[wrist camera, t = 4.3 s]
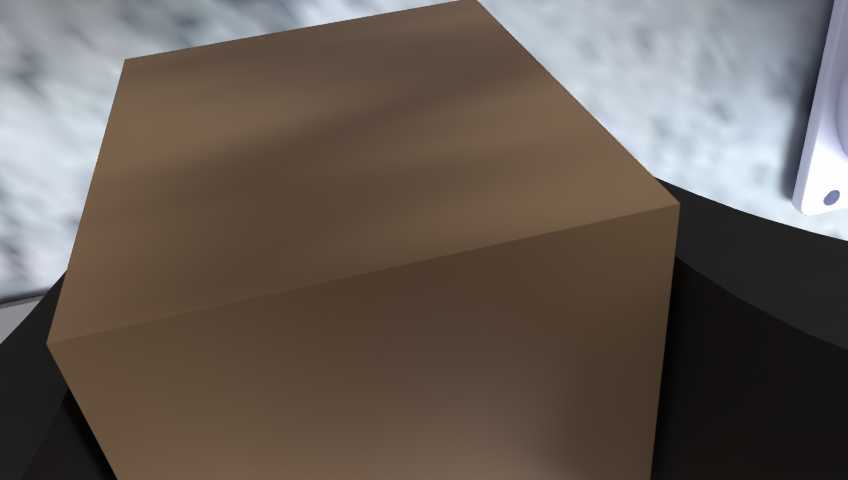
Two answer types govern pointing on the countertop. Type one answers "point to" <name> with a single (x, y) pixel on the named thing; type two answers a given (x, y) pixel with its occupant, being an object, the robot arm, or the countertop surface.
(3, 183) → the countertop surface
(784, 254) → the robot arm
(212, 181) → the walnut block
